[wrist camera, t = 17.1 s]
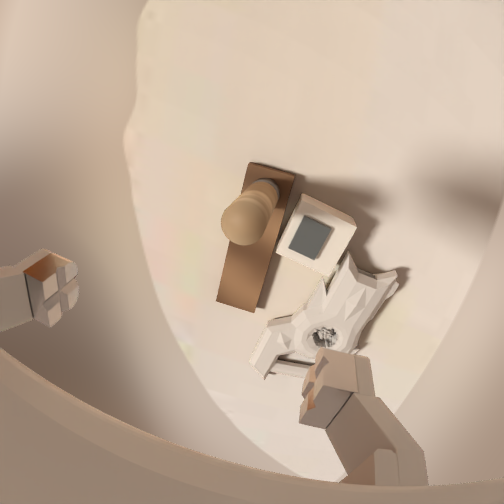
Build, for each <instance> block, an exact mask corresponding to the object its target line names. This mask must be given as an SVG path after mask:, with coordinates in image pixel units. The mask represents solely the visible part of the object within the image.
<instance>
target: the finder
mask: <svg viewBox="0 0 504 504" xmlns="http://www.w3.org/2000/svg"><path fill="white" fill-rule="evenodd" d="M356 229H357V226H356V224H355V221H354V219H353V217H351V216H349V215H347V214H345V213H343V212H341V211H339V210H337V209H335V208H333V207H331V206H329V205H327V204H325V203H323V202H321V201H319V200H317V199H315V198H313V197H310V196H308V195H306V194H304V193H302V194H301V196H300V198H299V201H298V203H297V205H296V207H295V209H294V211H293V213H292V215H291V217H290V219H289V221H288V223H287V225H286V227H285V229H284V231H283V234H282V236H281V238H280V240H279V242H278V246H277V250H276V253H277V254H279V255H281V256H284V257H286V258H288V259H290V260H292V261H295V262H297V263H299V264H301V265H303V266H305V267H308V268H310V269H312V270H314V271H316V272H318V273H321V274H323V275H325V276H327V277H329V276H330V274H331V272H332V270H333V269H334V267H335V265H336V264H337V262H338V260H339V259H340V257H341V255H342V253H343V252H344V250H345V248H346V246H347V245H348V243H349V241H350V239H351V238H352V236H353V234H354V232H355V230H356Z"/></svg>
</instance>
